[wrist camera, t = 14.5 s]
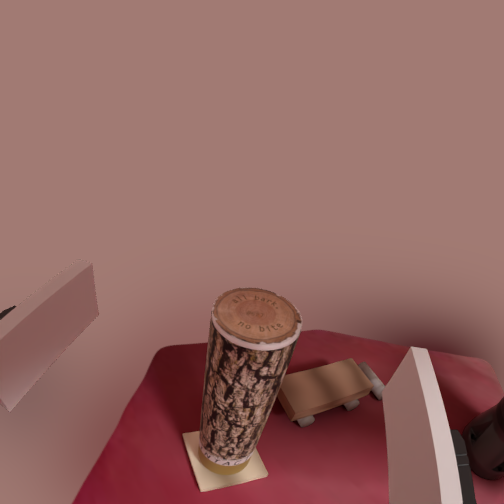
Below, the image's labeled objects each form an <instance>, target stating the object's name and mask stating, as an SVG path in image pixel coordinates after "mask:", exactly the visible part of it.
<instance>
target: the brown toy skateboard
mask: <svg viewBox="0 0 504 504" xmlns="http://www.w3.org/2000/svg"><path fill="white" fill-rule="evenodd" d="M384 388H385V385H384V384H383V383H382V382H381V381H380V379H379V378H378V377H377V376H376V374H375V373H374V372H373V371H372V370H371V368H370V367H369V366H368V365H367V364H366V362H362V363H360V364H359V365H357V364H356V363H355V362H354V360H353V359H352V358H350V359H346V360H343V361H339V362H336V363H332V364H329V365H325V366H321V367H317V368H313V369H309V370H305V371H301V372H297V373H293V374H288V375H285V376H284V378H283V381H282V384H281V386H280V389H279V392H278V394H277V397H278V399H279V401H280V403H281V405H282V407H283V408H284V410H285V412H286V414H287V416H288V417H289V419H290V421H295V420H297V421H298V423H299V425H300V426H301V427H306V426H308V425H310V424H312V423H313V422H314V421H315V418H314V417H313V415H314V414H317V413H320V412H323V411H326V410H329V409H332V408H335V407H337V406H340V405H344V406H345V408H346V409H347V410H348V411H350V410H353V409H354V408H356V407H357V406H358V405H359V403H360V402H359V401H358V399H359V398H361V397H364V396H366V395H368V394H369V393H370V391H372V392H373V393H374V395H375V396H376V397H377V398H378V400H382V391H383V390H384Z"/></svg>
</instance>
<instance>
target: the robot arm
mask: <svg viewBox="0 0 504 504" xmlns="http://www.w3.org/2000/svg"><path fill="white" fill-rule="evenodd" d="M98 315H99V313H98V307H97V299H96V292H95V284H94V276H93V266H92V263H90V262H87V261H84V260H81V259H78V260H77V261H76V262H74V263H73V264H71V265H70V266H69V267H67V268H66V269H65V270H63V271H62V272H61V273H59V274H58V275H56V276H55V277H54V278H53V279H51V280H50V281H48V282H47V283H46V284H45V285H43V286H42V287H41V288H39V289H38V290H37V291H35V292H34V293H33V294H32V295H30V296H29V297H28V298H27V299H25V300H24V301H23V302H22V303H20V304H19V305H18V306H17V307H16V306H13V307H11V308H9V309H6V310H4V311H3V312H2V313H0V404H1V405H2V406H3V407H4V408H5V409H6V410H8V411H9V412H11V411H12V410H13V408H14V407H15V406H16V405H17V404H18V402H19V401H20V400H21V399H22V398H23V397H24V395H25V394H26V393H27V392H28V390H30V388H31V387H32V386H33V385H34V384H35V383H36V382H37V380H38V379H39V378H40V377H41V376H42V374H44V372H45V371H46V370H47V369H48V368H49V367H50V366H51V365H52V364H53V362H54V361H55V360H56V359H57V358H58V357H59V356H60V355H61V354H62V353H63V352H64V351H65V350H66V348H67V347H68V346H69V345H70V344H71V343H72V342H73V341H74V340H75V339H76V338H77V337H78V336H79V335H80V334H81V333H82V331H83V330H84V329H85V328H86V327H87V326H88V325H89V324H90V323H91V322H92V321H93V320H94V319H95V318H96V317H97V316H98ZM382 399H383V408H384V417H385V428H386V440H387V455H388V475H389V504H477V503H476V499H475V493H474V486H473V480H472V475H471V469H472V470H473V471H474V472H475V473H476V474H477V475H479V476H480V477H482V478H485V479H489V480H494V479H498V478H501V477H502V476H504V397H503V398H502V400H501V401H500V402H499V403H498V404H497V405H495V406H493V407H492V408H490V409H488V410H487V411H485V412H483V413H481V414H480V415H478V416H476V417H475V418H474V419H473V420H472V421H471V422H470V423H469V424H468V425H467V426H466V428H465V429H464V431H463V434H462V436H461V435H460V433H459V431H458V430H450V428H449V424H448V420H447V416H446V412H445V408H444V404H443V400H442V397H441V393H440V390H439V386H438V383H437V379H436V376H435V373H434V370H433V366H432V363H431V360H430V357H429V354H428V351H427V349H423V348H417V347H410V349H409V351H408V352H407V354H406V356H405V357H404V359H403V360H402V362H401V364H400V365H399V367H398V368H397V370H396V372H395V373H394V375H393V376H392V378H391V379H390V381H389V382H388V384H387V385H386V387H385V388H384V390H383V391H382ZM470 468H471V469H470Z"/></svg>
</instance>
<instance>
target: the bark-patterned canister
mask: <svg viewBox="0 0 504 504" xmlns="http://www.w3.org/2000/svg"><path fill="white" fill-rule="evenodd" d="M301 327H302V317H301V314H300V312H299V311H298V309H297V308H296V307H295V306H294V305H293V304H292V303H291V302H290V301H289V300H287V299H286V298H284V297H282V296H280V295H278V294H276V293H274V292H271V291H267V290H263V289H257V288H238V289H233V290H230V291H227V292H225V293H223V294H221V295H220V296H219V297H218V298H217V299H216V300H215V302H214V304H213V308H212V313H211V321H210V330H209V339H208V348H207V358H206V368H205V378H204V388H203V399H202V410H201V421H200V433H199V448H198V455H199V458H200V461H201V463H202V464H203V465H204V466H205V467H206V468H207V469H208V470H210V471H211V472H213V473H216V474H220V475H232V474H236V473H238V472H240V471H242V470H243V469H244V468H245V467H246V466H247V464H248V463H249V461H250V458H251V456H252V454H253V452H254V450H255V447H256V445H257V443H258V440H259V438H260V436H261V433H262V431H263V429H264V426H265V424H266V421H267V419H268V417H269V414H270V412H271V409H272V407H273V404H274V402H275V399H276V397H277V394H278V392H279V389H280V386H281V384H282V381H283V378H284V376H285V373H286V371H287V368H288V365H289V362H290V360H291V357H292V354H293V351H294V349H295V346H296V343H297V340H298V337H299V335H300V331H301Z"/></svg>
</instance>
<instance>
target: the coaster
mask: <svg viewBox="0 0 504 504" xmlns="http://www.w3.org/2000/svg"><path fill="white" fill-rule="evenodd" d="M199 433H200V431H197V432H190V433H183V439H184V443H185V446H186V449H187V453H188V456H189V459H190V462H191V465H192V468H193V471H194V474H195V477H196V480H197V483H198V486H199V489H200V492H203V491H209V490H214V489H219V488H223V487H228V486H232V485H236V484H241V483H245V482H248V481H252V480H256V479H259V478H263V477H266V476H267V475H268V472H267V470H266V468H265V466H264V464H263V462H262V460H261V458H260V456H259V454H258V452H257V449H256V447H255V450H254V452H253V454H252V456H251V458H250V461H249V463H248V464H247V466H246V467H245V468H244V469H243V470H242V471H240V472H238V473H236V474H232V475H220V474H216V473H213V472H211V471H210V470H208V469H207V468H206V467H205V466H204V465H203V464H202V463H201V461H200V458H199V455H198V448H199Z"/></svg>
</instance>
